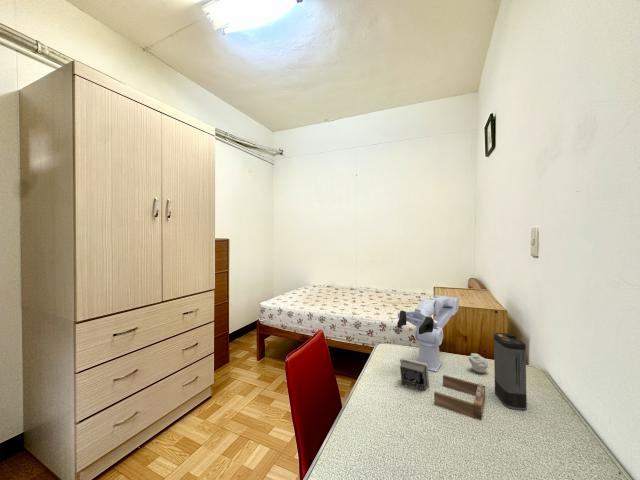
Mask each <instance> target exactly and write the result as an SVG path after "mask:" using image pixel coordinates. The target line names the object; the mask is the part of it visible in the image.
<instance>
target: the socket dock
mask: <svg viewBox="0 0 640 480" xmlns="http://www.w3.org/2000/svg"><path fill="white" fill-rule="evenodd" d="M442 387H445V388H449V389H453V390H455V391H459V392H462V393H466V394H469V395H472V396H474V400H473V402H470V401H468V400H463V399H460V398H457V397H453V396H451V395H447V394H444V393H441V392H437V391H434V392H433V395H434V397H433V401H434V402H433V405H435V406H438V407H441V408H445V409H447V410H450V411H454V412H456V413H459V414H462V415H465V416H467V417H471V418H474V419H476V420H479V421H482V418H483V413H484V407H485V400H486V386H485V385H484V384H483V383H481V382H479V383H475V382H471V381H468V380H465V379H461V378H457V377H453V376H449V375H446V374H443V375H442Z"/></svg>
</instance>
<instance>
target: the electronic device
mask: <svg viewBox="0 0 640 480" xmlns="http://www.w3.org/2000/svg"><path fill="white" fill-rule="evenodd" d="M526 345H527V344H526V343H525V341H523V340H517V336H515V334H512V333H505V332H494V334H493V354H494V355H493V356H494V358H493V361H494V366H493V368H494V394H495V395H496V397H497V398H498V399H499V400H500V401H501V402H502V403H503V405H504V406H506V407H507V408H508V409H513V410H522V411H526V410H527V409H528V408H527V406H528V405H527V404H528V403H527V401H528V399H527V361H526V360H527V357H526V356H527V352H526V351H527V350H526V349H527V348H526Z"/></svg>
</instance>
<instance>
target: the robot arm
mask: <svg viewBox="0 0 640 480" xmlns="http://www.w3.org/2000/svg"><path fill="white" fill-rule="evenodd" d="M459 302H460V301H459V298H458V297H457V296H456V297H452V296H444V295H433V296H432V297H429V298H421V300H420V303H419V304H418V307H416V308H415V309H414V310H412V311H406V310H399V312H397V318H398V321H397V323H396V325H397V326H396V327H397V329H401V328H402V327H403V326H407V322H408V323H410V324H411V325H413V326H414V327H415V328H414V332H413V336H414V339H415V340H416V341H417V342H416V343H417V344H418V362H423V363H426V364H427V365H428V371H432V372H436V373H437V372H438V370H439V369H440V366H441V365H442V361H440V347H439V346H441V344H442V343H443V339H444V330H443V329H444V327H446V325H447V323H449V321H450V319H451V317H452V316H455V315H456V313H457V312H458V311H459V306H460V303H459ZM433 315H434V317H432V316H433Z"/></svg>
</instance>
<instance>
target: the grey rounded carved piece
mask: <svg viewBox="0 0 640 480" xmlns="http://www.w3.org/2000/svg"><path fill="white" fill-rule="evenodd" d="M467 358H468V361H469V362H470V363H469V364H471V368H472V369H473V371H475V372H477V373H479V374H482V373H485V372H486V370H487V369H489V362H488V360H487V359H486V358H485V357H483V356H481V355H480V354H478V353H472V352H471V353H470V355H469V356H468V357H467Z"/></svg>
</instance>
